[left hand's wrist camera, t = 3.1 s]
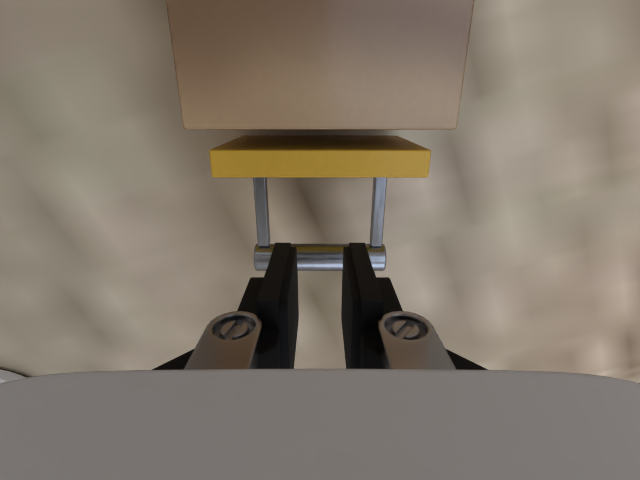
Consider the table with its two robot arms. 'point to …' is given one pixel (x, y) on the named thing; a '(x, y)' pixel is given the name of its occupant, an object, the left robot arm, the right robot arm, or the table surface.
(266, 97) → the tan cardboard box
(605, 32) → the table surface
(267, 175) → the drawer
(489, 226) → the table surface
